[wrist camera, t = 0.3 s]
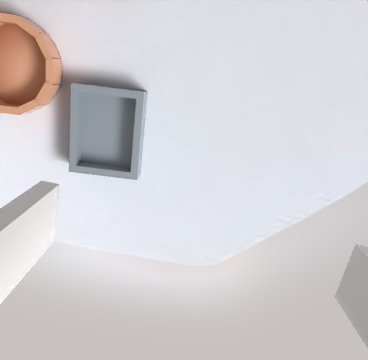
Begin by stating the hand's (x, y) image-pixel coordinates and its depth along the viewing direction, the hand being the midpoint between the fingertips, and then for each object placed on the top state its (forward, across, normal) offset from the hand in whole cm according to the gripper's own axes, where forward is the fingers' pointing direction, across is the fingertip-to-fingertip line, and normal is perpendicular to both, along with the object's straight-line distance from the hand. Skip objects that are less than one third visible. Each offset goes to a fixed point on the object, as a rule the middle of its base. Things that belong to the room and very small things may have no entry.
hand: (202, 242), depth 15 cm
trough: (+27, -10, -1) cm, 29 cm away
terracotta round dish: (+27, -22, +4) cm, 35 cm away
